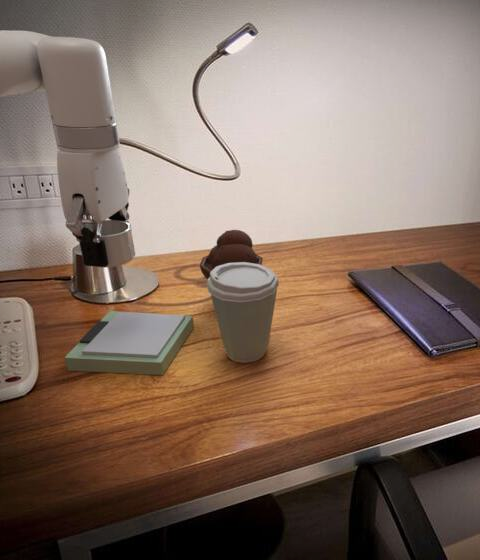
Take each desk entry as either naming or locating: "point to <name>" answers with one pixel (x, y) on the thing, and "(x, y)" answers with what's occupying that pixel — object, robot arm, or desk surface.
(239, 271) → the disposable coffee cup
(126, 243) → the bowl
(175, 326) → the scale
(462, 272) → the desk surface
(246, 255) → the ice cream bowl
